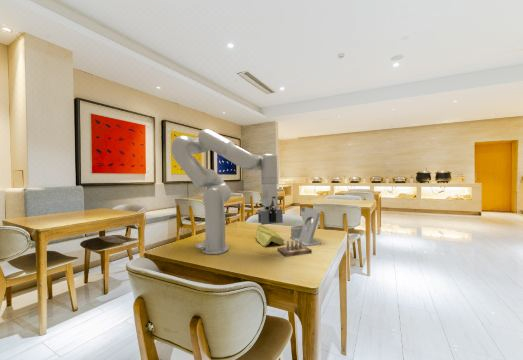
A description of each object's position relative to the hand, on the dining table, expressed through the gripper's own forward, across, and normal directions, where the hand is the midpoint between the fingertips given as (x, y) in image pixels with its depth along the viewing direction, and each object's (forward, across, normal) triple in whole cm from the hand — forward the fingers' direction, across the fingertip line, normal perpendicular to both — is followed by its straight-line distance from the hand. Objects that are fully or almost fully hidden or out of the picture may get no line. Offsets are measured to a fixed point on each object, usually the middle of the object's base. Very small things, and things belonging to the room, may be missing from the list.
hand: (270, 220), depth 107 cm
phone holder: (+17, -15, +26) cm, 34 cm away
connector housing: (+1, 0, 0) cm, 1 cm away
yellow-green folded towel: (+16, -21, +6) cm, 27 cm away
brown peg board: (+16, 0, +12) cm, 20 cm away
